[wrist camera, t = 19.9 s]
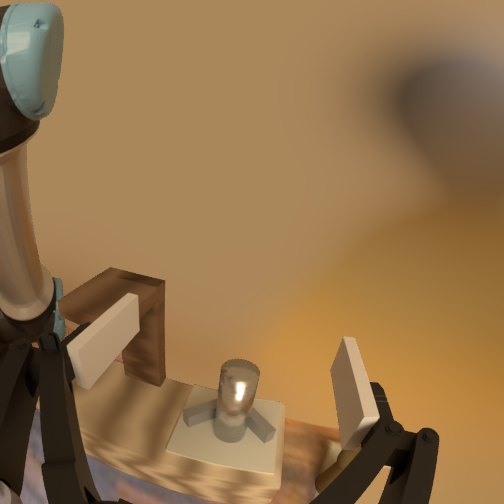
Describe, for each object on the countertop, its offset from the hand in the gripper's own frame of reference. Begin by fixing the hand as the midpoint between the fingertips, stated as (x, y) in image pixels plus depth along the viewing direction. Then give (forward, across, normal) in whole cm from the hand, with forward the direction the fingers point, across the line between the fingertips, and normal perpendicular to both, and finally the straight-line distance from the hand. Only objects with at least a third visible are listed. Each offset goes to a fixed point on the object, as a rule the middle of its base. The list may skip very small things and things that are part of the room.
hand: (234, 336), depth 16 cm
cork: (+8, +19, -34) cm, 40 cm away
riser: (+10, -11, -34) cm, 37 cm away
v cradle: (+10, 0, -24) cm, 26 cm away
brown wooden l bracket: (+12, -16, -24) cm, 31 cm away
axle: (+10, 0, -24) cm, 25 cm away
